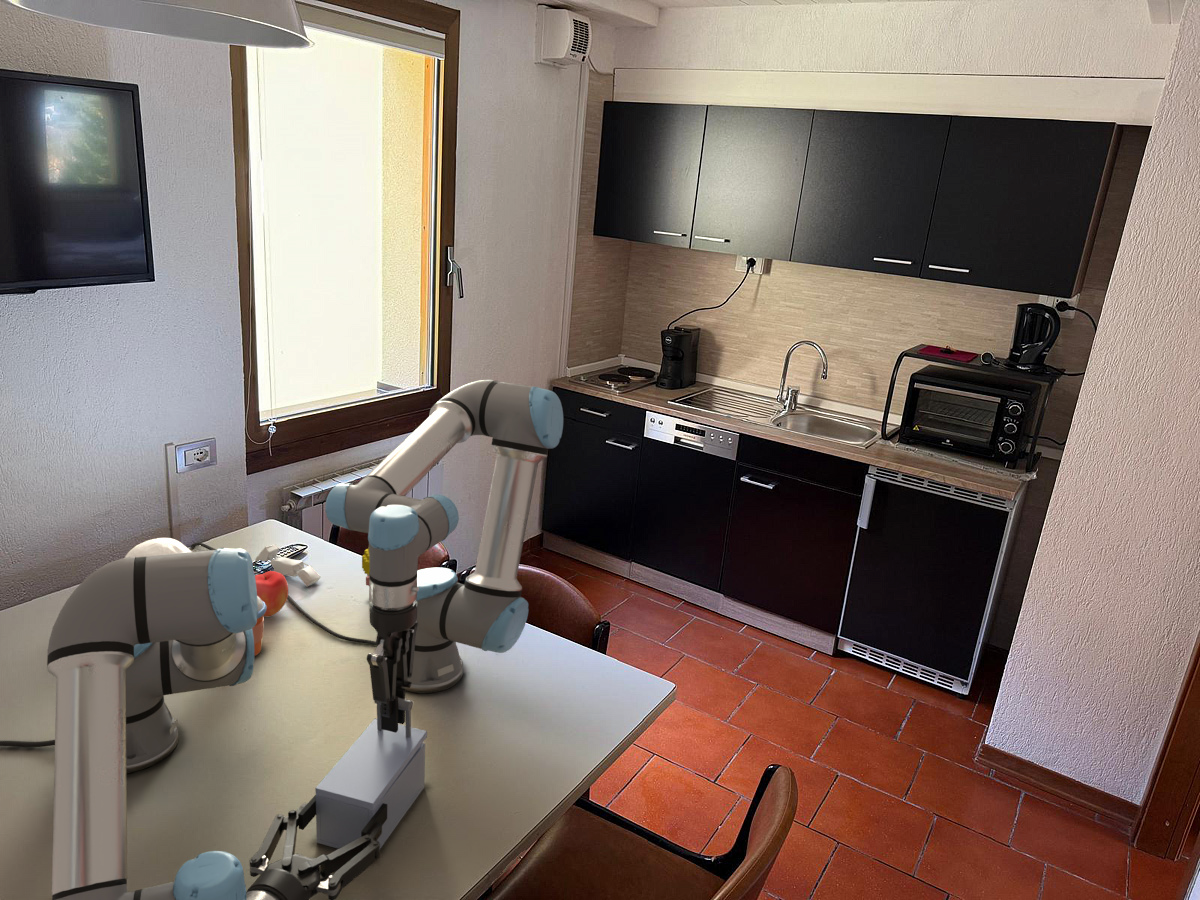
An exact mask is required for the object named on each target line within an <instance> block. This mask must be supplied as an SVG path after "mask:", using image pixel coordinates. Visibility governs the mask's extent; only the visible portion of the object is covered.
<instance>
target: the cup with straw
mask: <svg viewBox="0 0 1200 900" xmlns="http://www.w3.org/2000/svg"><path fill="white" fill-rule="evenodd" d="M257 604H258V616H257V623H256V625H255V626H254V627H253V628H252V630H253V637H254V657H255V656H257V655H258V654H260V652H261V651H262V640H263V637H264V627H265V626H264V624H265V617H264V616H263V615H264V614H265V613H266V609H267V607H266V604H265V603H264V602H263V601H262V600H261V599H260V598H259V597H258V596H257Z"/></svg>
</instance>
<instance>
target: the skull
mask: <svg viewBox="0 0 1200 900" xmlns="http://www.w3.org/2000/svg"><path fill="white" fill-rule="evenodd" d="M187 552H192V550H190V549H189V547H187V546H186V545H185V544H183V543H182V542H181V541H179V540H177V539H174V538H172V537H157V538H152V539H147V540H145V541H143V542H140V543H139V544H137V545H135V546H134V547H133V548H131V549H130V550H129V551H128V552H127V553H126V554H125V556H124V558H129V557H146V556H156V555H166V554H177V553H187Z"/></svg>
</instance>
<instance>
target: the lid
mask: <svg viewBox="0 0 1200 900" xmlns="http://www.w3.org/2000/svg"><path fill="white" fill-rule="evenodd" d="M373 703H374V704H376V718H373V720H372V721H371V722H370V723H369V724H368V726H367V727H366V728H365V729H364V730H363V732H362V733H361V734H360V735H359V736H358V737H357V738H356V740H355V741H354V742H353V743H352V744H351V746H350V747H349V748H348V749H347V750H346V751H345V753H344V754H343V755H342V756H341V758H340V759H339V760H338V761H337V762H336V764H334V765H333V767H332V768H331V769H330V770H329V771H328V773H327V774H326V775H325V776H324V777H323V779H322V780H321V781H320V782H318V784H317V785H316V787H314V788H315V795H319V796H323V797H326V798H330V799H334V800H337V801H341V802H345V803H348V804H352V805H356V806H359V807H363V808H367V809H370V810H374V808H375V807H376V806H377V804H378V803H379V802H380V800H381V799H382V798H383V796H384V795H385V793H386V792H387V791H388V789H389V788H390V787H391V785H392V784H393V783H394V781H395V780H396V779H397V777H398V776H399V774H400V773H401V772H402V770H403V769H404V768H405V766H406V765H407V764H408V762H409V761H410V759H411V758H412V757H413V755H414V754H415V753H416V751H417V750H418V749H419V747H420V746H421V744H422V743H425V741H426V739H427V738H428V731H427V730H424V729H420V728H416V727H412V709H413V706H414V701H413V700H411V699H406V698H405V699H402V698H398V709H400V710H404V711H405V722H404V723H405V724H400V723H398V731H397V732H396V733H395V732H391V731H387V730H383V729H381V702H378V701H374V700H373Z"/></svg>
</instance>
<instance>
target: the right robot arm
mask: <svg viewBox="0 0 1200 900" xmlns="http://www.w3.org/2000/svg"><path fill="white" fill-rule="evenodd" d="M428 415H429V416H428V417H427V418H426V419H425V420H424V421H423V422H422V423H420V424H419V426H417V427H416V428H415V430H413V431H412V432H411V433H410V434H409V435H408V436H407V437H406V438H404V440H402V441H401V442H400V443H399V444H398V446H396V447H395V448H394V449H393V450H391V452H390V453H389V454H388V455H386V456H385V458H384V459H382V460H381V461H380V462H379V463H378V464H377V465H376V466H375V467H374V468H373V469H372V470H370V472H368V474H366V475H365V476H364V478H362V479H361V480H359V482H358V483H357V484H353V483H343V482H342V483H339V484H336V485H335V486H334V487H332V488H331V490H330V491H329V492H328V495H327V496H326V500H325V506H324V507H325V514H326V518H327V520H328V522H330V523H331V524H332V525H335V526H337V527H340V528H343V529H347V530H349V531H356V532H359V533H365V534H367V540H368V547H369V561H370V572H369V586H368V587H369V589H368V600H369V605H368V607H369V608H368V609H369V613H368V614H369V615H368V616H369V617H368V618H369V624H370V626H371V627H372V628H373V629H374V630H375V631H376V633H377V634H376V639H375V640H369V639H365V638H364V639H363V638H355V637H350V636H346V635H343V634H341V633H338V632H336V631H334V630H332V629H330V628H328V627H327V626H325V625H324V624H322V623H321V622H319V621H318V620H316V619H315V618H313V617H312V616H311V615H310V614H308V613H307V612H306V611H305V610H304V609H303V608H302V607H301V606H300V605H299V604H298V603H297V602H296V601H295V600H294V599H293V598H292V597H291V595H289V594H288V598H287V601H288V602H289V603H290V604H291V605H292V606H293V607H294V608H295V609H296V611H298V612H299V613H300V614H301V615H302V616H303V617H304V618H305V619H307V620H308V621H310V622H311V623H312V624H314V625H315V626H316V627H318V628H319V629H321V630H322V631H324V632H326V633H327V634H329V635H331V636H332V637H335V638H338V639H341V640H343V641H347V642H352V643H359V644H367V645H371V646H375V647H376V648H375V650H374V652H373V653H372V652H371V653H370V652H369V653H368V654H367V656H366V662H367V663H368V667H369V673H370V674H369V675H370V683H371V692H372V700H373V702H374V701H378V702H381V729H383V730H387V731H391V732H395V733H396V732H397V731H398V724H400V725H405V723H406V722H405V711H404V710H400V709H398V698H402V699H406V691H407V692H410V693H416V694H430V693H431V694H432V693H438V692H441V691H445V690H447V689H450V688H451V687H453V686H455V685H456V684H457V683H458V682H459V681H460V680H461V679H462V676H463V672H464V662H463V660H462V657H461V656H460V653H459V649H458V646H457V643H458V644H461V645H466V646H469V647H473V648H476V649H480V650H482V651H484V652H493V653H498V654H503V653H506V652H509V651H510V650H511V649H512V648H513V647H514V646H515V644H516V643H517V642H518V640H519V639H520V637H521V635H522V633H523V631H524V629H525V626H526V623H527V620H528V617H529V609H530V608H529V602H528V601H527V599H525V598H524V597H522V593H523V592H522V591H523V586H522V585H521V583H520V582H519V580H518V573H519V566H520V562H521V556H522V553H523V546H524V541H525V535H526V531H527V525H528V521H529V515H530V509H531V505H532V499H533V493H534V487H535V483H536V477H537V472H538V466H539V464H540V462H541V461H543V460H545V459H546V458H547V457H548V454H549V450H551V449H554V448H556V447H557V446H558V445H559V443H560V440H561V439H562V435H563V430H564V411H563V406H562V402H561V399H560V398H559V396H558V395H557V394H556V392H554V391H552V390H549V389H545V388H541V387H539V386H534V385H533V386H531V385H525V384H518V383H511V382H506V381H505V382H504V381H498V380H493V379H483V380H482V379H480V380H476V381H473V382H469V383H467V384H466V383H465V384H464V385H462V386H459V387H458V388H456V389H453V390H452V391H450V392H448V393H447V394H446V395H444V396H443V397H442V398H440V399H439V400H438V401H437V402H436V403H434V404H433V405H432V406H431V408H430V410H429V414H428ZM473 436H485V437H489V438H492V440H491V444H490V447H491V449H492V450H493V452H495V455H496V458H495V463H494V468H493V474H492V478H491V483H490V489H489V495H488V501H487V505H486V510H485V515H484V521H483V527H482V532H481V538H480V543H479V547H478V553H477V557H476V558H477V559H476V563H475V570H474V571H473V572H472V573H470V574H469V575H468V576H466V577H465V580H464V583H460V582H458V580H459V579H458V575H457V573H456V572H455V571H454V570H453V569H450V568H448V567H447V568H446V567H427V568H421V569H418V568H419V557H420V556H422V555H423V554H424V553H426V552H427V551H429V550H430V549H433V547H435V546H436V545H438V544H439V543H440V542H443V541H446V539H447V538H448V536H450V535H451V534H452V533H453V532H454V531H455V530H456V528H457V527H458V525H459V520H460V517H459V510H458V508H457V506H456V504H455V503H454V501H452V499H450V498H449V497H448V496H446V495H443V494H439V493H438V494H431V495H428V496H426V497H424V498H422V499H419V498H415V497H411V496H407V495H408V494H409V493H410V492H411V491H412V490H413V489H414V488H415V487H416V486H417V485H418V484H419V483H420V482H421V481H422V480H423V479H424V478H425V477H426V476H427V475H428V473H429V472H431V470H432V469H433V468H434V467H435V466H437V464H438V463H439V462H440V461H441V460H442V459H443V458H445V456H446V455H447V454H448V453H450V451H451V450H452V449H453V448H454V447H455V446H456V444H462V443H464V442H467V440H469V439H470V438H471V437H473ZM199 545H201V546H199ZM195 547H203V548H204V549H207V550H217V549H218V548H214V547H212V546H210V545H208V544H205V543H204V542H199V541H198V542H194V543H192V544H191V545H190V548H192V549H193V548H195ZM264 572H265V573H266V572H267V571H264Z"/></svg>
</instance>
